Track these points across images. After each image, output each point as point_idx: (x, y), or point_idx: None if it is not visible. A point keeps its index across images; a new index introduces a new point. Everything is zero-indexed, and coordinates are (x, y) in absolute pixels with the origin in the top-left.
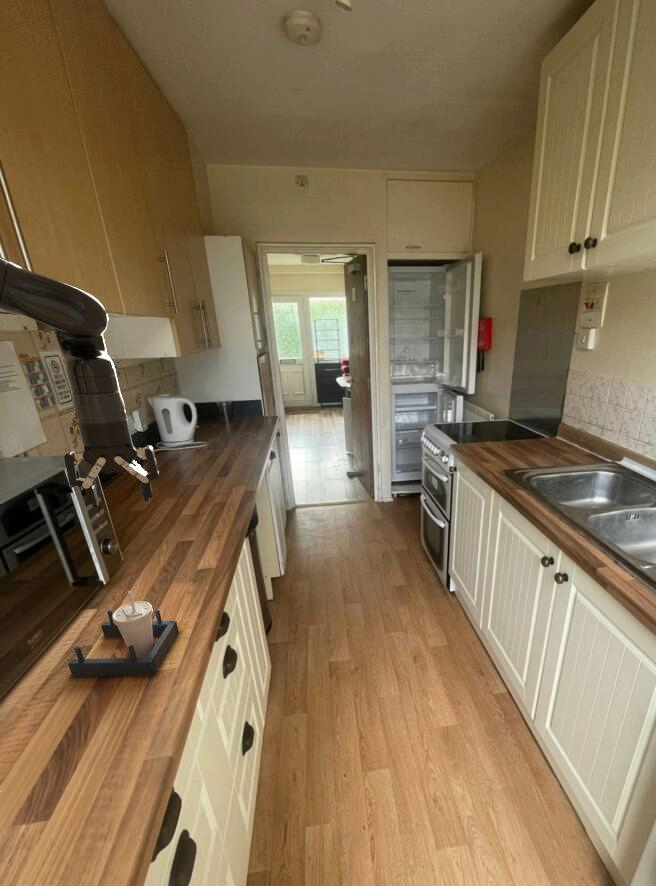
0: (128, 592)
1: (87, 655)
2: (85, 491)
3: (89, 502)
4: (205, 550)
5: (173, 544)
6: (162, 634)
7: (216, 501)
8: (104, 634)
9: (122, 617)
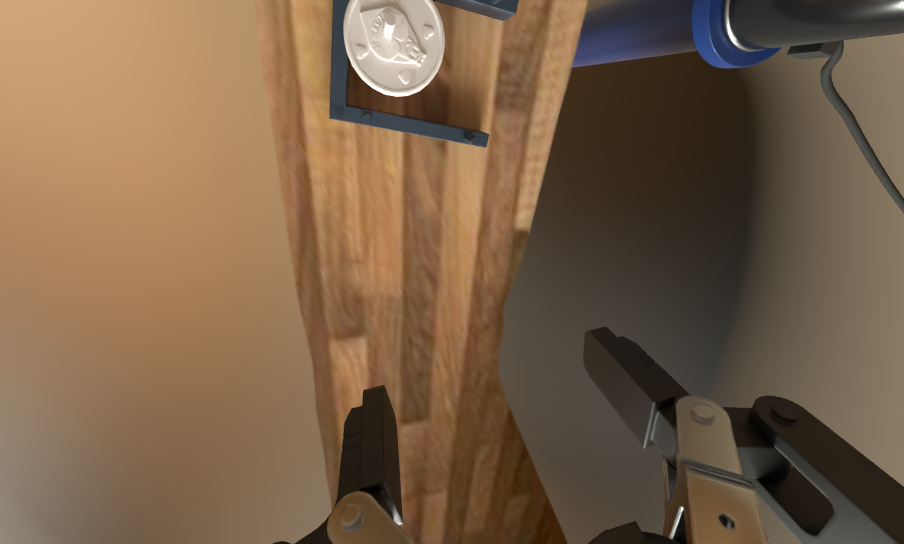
0: (392, 14)
1: (496, 76)
2: (678, 386)
3: (627, 342)
4: None
5: (435, 411)
6: (344, 63)
7: None
8: (480, 131)
9: (413, 10)
